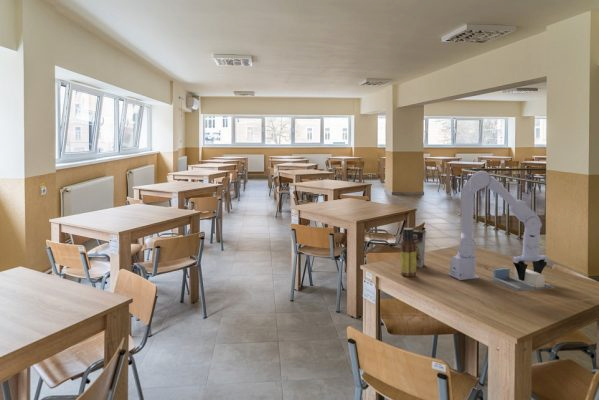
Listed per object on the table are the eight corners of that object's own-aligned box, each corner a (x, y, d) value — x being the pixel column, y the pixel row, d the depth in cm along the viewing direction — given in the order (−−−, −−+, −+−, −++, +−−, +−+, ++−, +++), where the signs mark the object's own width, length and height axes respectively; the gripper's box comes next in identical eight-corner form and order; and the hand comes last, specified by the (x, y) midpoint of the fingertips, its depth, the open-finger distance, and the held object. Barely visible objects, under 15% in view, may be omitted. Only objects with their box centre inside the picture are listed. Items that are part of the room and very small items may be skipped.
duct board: (516, 292, 168) (517, 280, 167) (488, 280, 183) (488, 269, 183) (556, 288, 172) (557, 277, 172) (525, 276, 188) (526, 266, 187)
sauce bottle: (414, 273, 193) (416, 227, 190) (417, 277, 187) (418, 229, 184) (399, 272, 193) (400, 226, 191) (401, 277, 187) (402, 229, 185)
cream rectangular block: (536, 287, 172) (537, 276, 172) (513, 278, 184) (514, 267, 183) (544, 286, 173) (545, 275, 173) (521, 277, 185) (522, 267, 184)
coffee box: (401, 265, 205) (402, 230, 203) (404, 262, 211) (405, 228, 209) (421, 268, 201) (422, 232, 199) (424, 264, 207) (426, 229, 205)
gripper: (522, 248, 171) (520, 283, 173) (554, 246, 175) (552, 280, 176) (509, 244, 178) (507, 278, 180) (540, 242, 182) (538, 275, 183)
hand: (528, 279), depth 178 cm, fingers open, 6 cm apart
